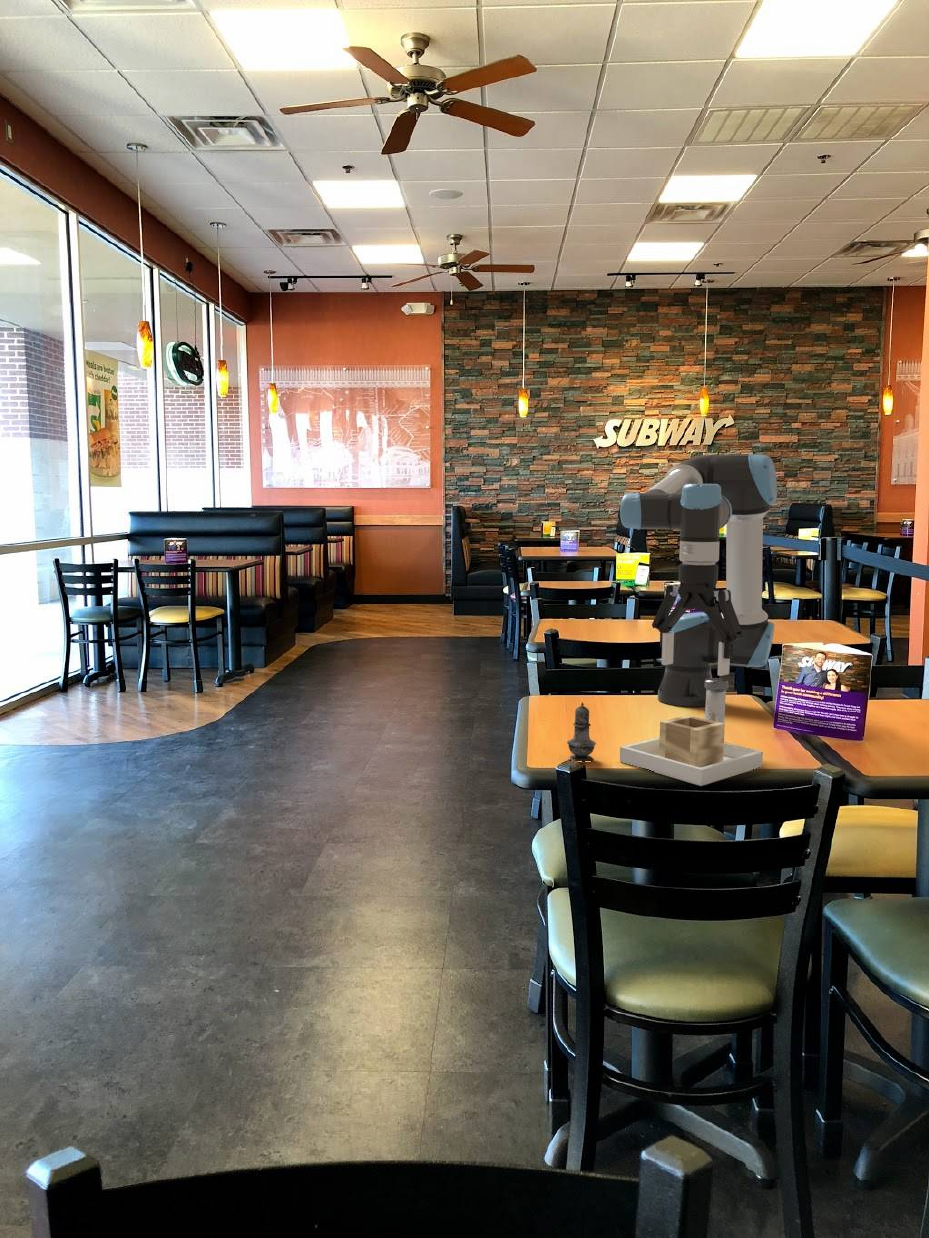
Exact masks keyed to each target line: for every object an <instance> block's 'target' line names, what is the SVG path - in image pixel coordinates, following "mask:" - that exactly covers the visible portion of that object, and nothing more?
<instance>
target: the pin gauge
mask: <svg viewBox="0 0 929 1238" xmlns="http://www.w3.org/2000/svg"><path fill="white" fill-rule="evenodd" d="M705 688H707V689H706V706H705V713H704V719H707V720H711V721H715V722H720V723H724V724H725V715H726V698H727V690H728V689H729V680H727V679H725V678H718V677H717V678H716V677H715V678H714V677H712V678H708V679H705Z"/></svg>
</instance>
